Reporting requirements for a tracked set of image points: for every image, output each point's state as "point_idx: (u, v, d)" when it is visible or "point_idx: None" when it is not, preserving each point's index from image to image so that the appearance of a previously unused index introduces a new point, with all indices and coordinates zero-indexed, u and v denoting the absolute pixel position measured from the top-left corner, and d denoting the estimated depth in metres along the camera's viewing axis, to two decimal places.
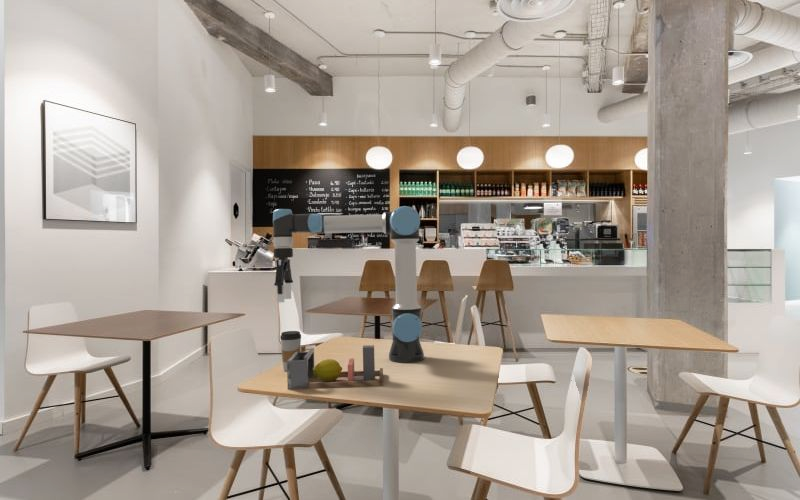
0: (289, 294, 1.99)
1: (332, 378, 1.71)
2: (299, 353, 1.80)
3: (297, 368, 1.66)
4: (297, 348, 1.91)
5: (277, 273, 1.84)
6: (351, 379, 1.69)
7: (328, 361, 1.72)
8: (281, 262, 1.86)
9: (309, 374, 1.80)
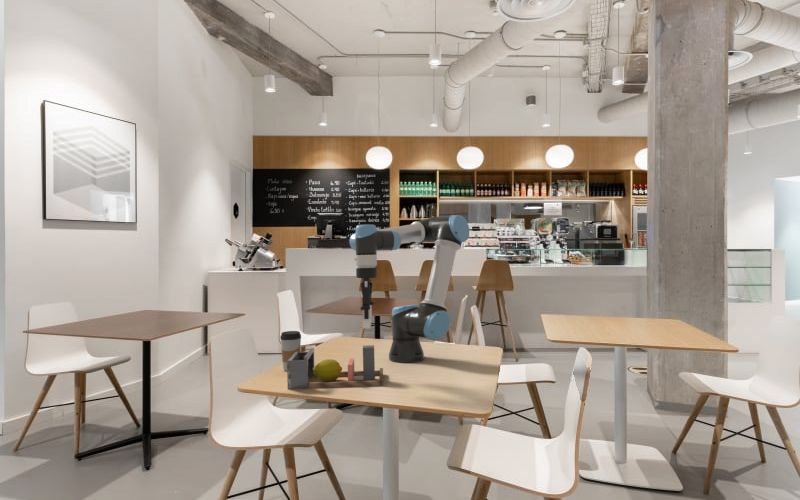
0: (370, 317, 1.81)
1: (332, 378, 1.71)
2: (299, 353, 1.80)
3: (297, 368, 1.66)
4: (297, 348, 1.91)
5: (364, 296, 1.66)
6: (351, 379, 1.69)
7: (328, 361, 1.72)
8: (367, 284, 1.67)
9: (309, 374, 1.80)
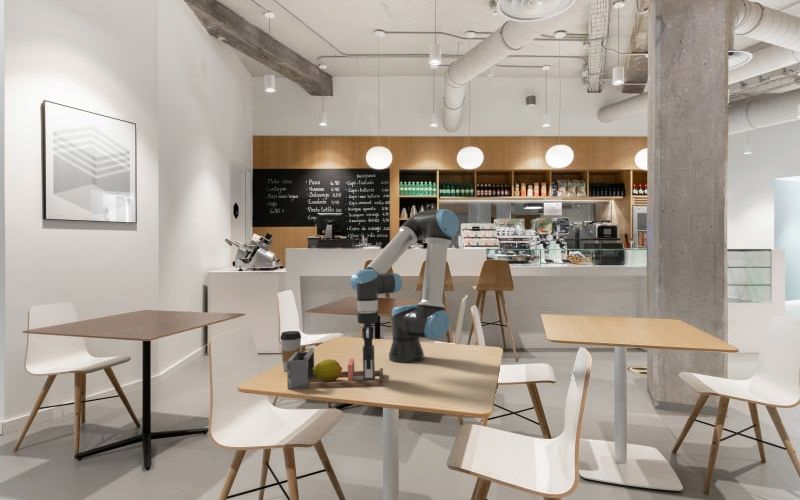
0: None
1: (332, 378, 1.71)
2: (299, 353, 1.80)
3: (297, 368, 1.66)
4: (297, 348, 1.91)
5: (366, 347, 1.68)
6: (351, 379, 1.69)
7: (328, 361, 1.72)
8: (369, 335, 1.68)
9: (309, 374, 1.80)
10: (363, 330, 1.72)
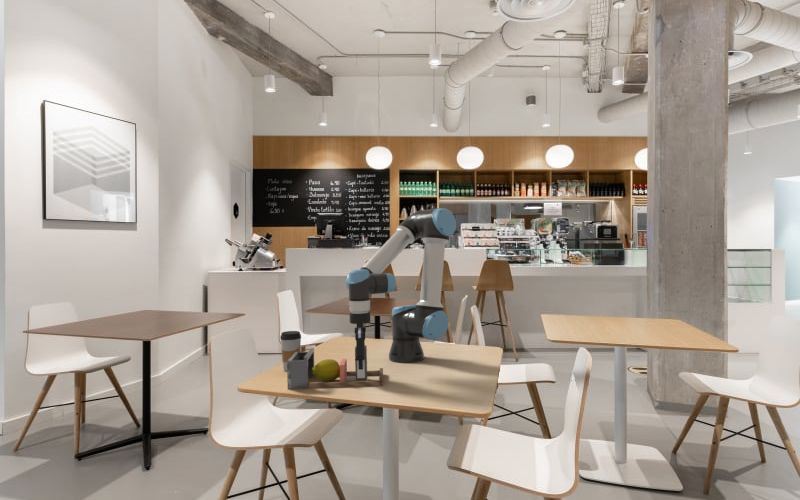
0: None
1: (331, 378, 1.71)
2: (299, 353, 1.80)
3: (297, 368, 1.66)
4: (297, 348, 1.91)
5: (358, 348, 1.68)
6: (343, 379, 1.69)
7: (327, 361, 1.72)
8: (361, 335, 1.68)
9: (309, 374, 1.80)
10: (355, 330, 1.72)
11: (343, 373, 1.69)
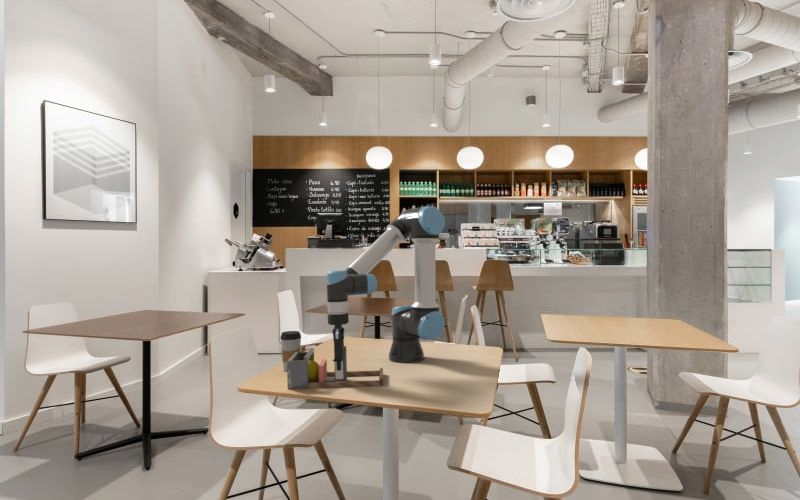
0: None
1: (313, 379, 1.70)
2: (299, 353, 1.80)
3: (297, 368, 1.66)
4: (297, 348, 1.91)
5: (335, 349, 1.68)
6: (322, 380, 1.69)
7: (309, 362, 1.71)
8: (338, 336, 1.68)
9: None
10: (333, 331, 1.72)
11: (322, 374, 1.69)
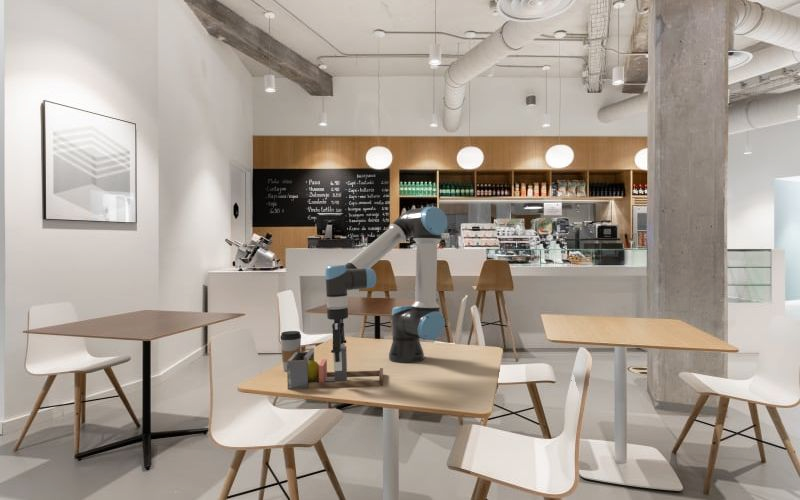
0: None
1: (313, 379, 1.70)
2: (299, 353, 1.80)
3: (297, 368, 1.66)
4: (297, 348, 1.91)
5: (334, 339, 1.66)
6: (322, 380, 1.69)
7: (309, 362, 1.71)
8: (338, 326, 1.67)
9: None
10: (333, 325, 1.72)
11: (322, 374, 1.69)
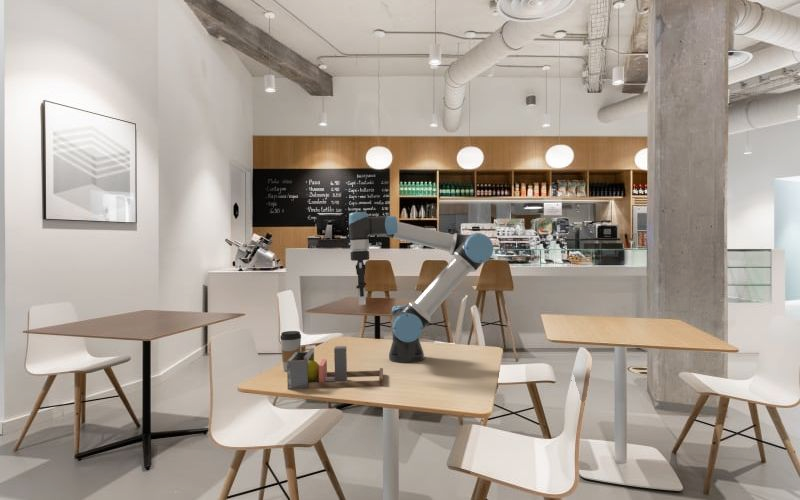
0: None
1: (313, 379, 1.70)
2: (299, 353, 1.80)
3: (297, 368, 1.66)
4: (297, 348, 1.91)
5: (359, 276, 1.85)
6: (322, 380, 1.69)
7: (309, 362, 1.71)
8: (362, 265, 1.86)
9: None
10: (356, 266, 1.91)
11: (322, 374, 1.69)
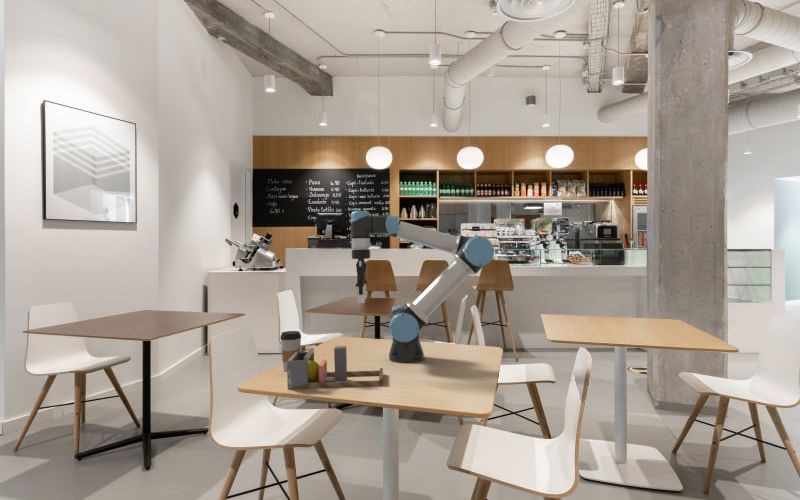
0: (364, 295, 2.01)
1: (313, 379, 1.70)
2: (299, 353, 1.80)
3: (297, 368, 1.66)
4: (297, 348, 1.91)
5: (358, 274, 1.86)
6: (322, 380, 1.69)
7: (309, 362, 1.71)
8: (362, 263, 1.88)
9: None
10: (357, 264, 1.93)
11: (322, 374, 1.69)
